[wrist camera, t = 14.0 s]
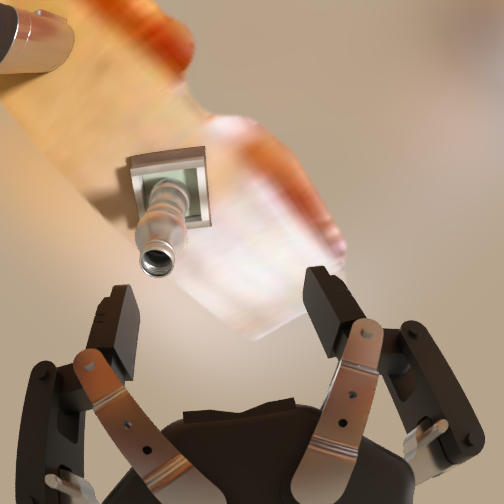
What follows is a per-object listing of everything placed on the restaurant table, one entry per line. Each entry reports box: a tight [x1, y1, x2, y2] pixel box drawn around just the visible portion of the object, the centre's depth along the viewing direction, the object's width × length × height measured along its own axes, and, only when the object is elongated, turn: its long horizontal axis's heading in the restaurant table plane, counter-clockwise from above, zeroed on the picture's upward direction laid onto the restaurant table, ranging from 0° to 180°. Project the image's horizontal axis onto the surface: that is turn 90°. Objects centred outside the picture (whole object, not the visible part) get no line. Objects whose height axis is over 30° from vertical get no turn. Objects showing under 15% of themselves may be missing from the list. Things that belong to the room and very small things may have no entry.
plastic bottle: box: [135, 178, 191, 278], centre depth 36 cm, size 6×7×20 cm
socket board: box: [130, 146, 212, 229], centre depth 43 cm, size 14×12×4 cm
